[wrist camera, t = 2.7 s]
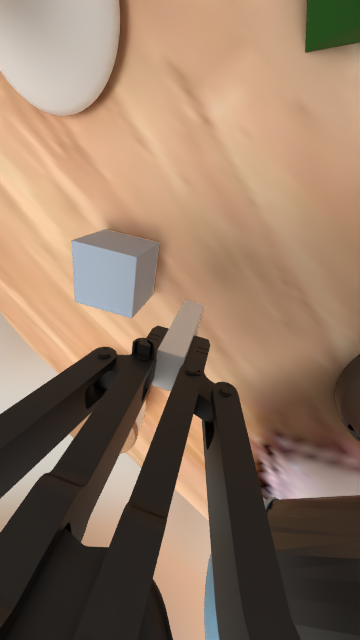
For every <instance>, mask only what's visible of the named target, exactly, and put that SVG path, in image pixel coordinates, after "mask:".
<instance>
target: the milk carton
mask: <svg viewBox="0 0 360 640" xmlns="http://www.w3.org/2000/svg"><path fill="white" fill-rule="evenodd" d="M358 42H360V0H307V21H306V50H305V52H309V51H315V50H320V49H326V48H331V47H336V46H342V45H347V44H353V43H358Z"/></svg>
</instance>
